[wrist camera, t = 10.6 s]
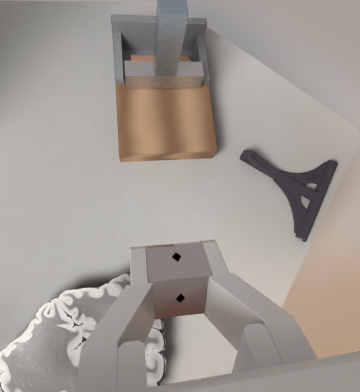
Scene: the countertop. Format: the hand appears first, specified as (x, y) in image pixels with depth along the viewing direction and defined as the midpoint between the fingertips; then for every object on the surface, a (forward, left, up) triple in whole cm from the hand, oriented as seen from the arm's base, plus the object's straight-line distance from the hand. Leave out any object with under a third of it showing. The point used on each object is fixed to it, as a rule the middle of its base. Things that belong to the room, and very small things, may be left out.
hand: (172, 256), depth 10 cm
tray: (+4, +30, -29) cm, 42 cm away
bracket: (+22, +10, -30) cm, 39 cm away
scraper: (+4, +26, -26) cm, 37 cm away
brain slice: (-7, -11, -30) cm, 33 cm away
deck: (+4, +20, -29) cm, 36 cm away
